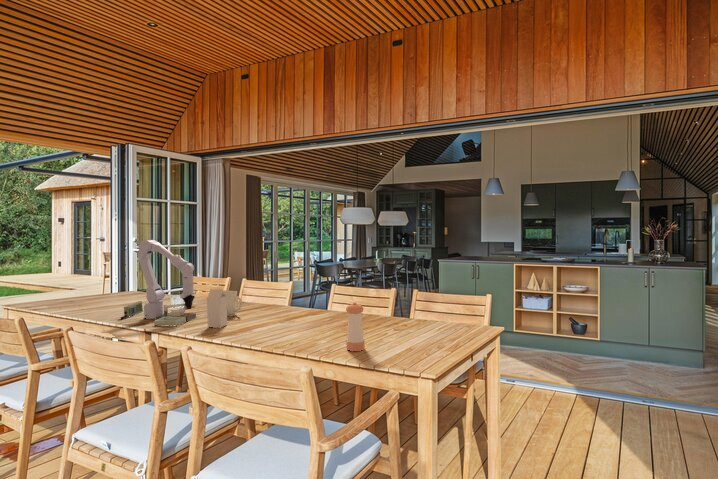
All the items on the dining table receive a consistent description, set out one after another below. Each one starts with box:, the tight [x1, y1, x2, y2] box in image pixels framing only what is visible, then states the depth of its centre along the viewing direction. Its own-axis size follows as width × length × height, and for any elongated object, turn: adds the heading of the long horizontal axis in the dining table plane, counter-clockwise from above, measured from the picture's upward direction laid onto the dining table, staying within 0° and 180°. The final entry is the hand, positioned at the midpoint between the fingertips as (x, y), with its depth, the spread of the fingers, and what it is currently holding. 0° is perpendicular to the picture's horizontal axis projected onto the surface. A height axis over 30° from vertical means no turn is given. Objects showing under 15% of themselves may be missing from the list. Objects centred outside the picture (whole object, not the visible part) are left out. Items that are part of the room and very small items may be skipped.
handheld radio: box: [120, 300, 144, 319], centre depth 269 cm, size 7×3×25 cm
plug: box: [169, 307, 186, 316], centre depth 255 cm, size 6×6×6 cm
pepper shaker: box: [345, 302, 366, 352], centre depth 187 cm, size 7×7×19 cm
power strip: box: [155, 311, 197, 322], centre depth 255 cm, size 18×10×3 cm, turn 83°
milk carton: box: [206, 288, 228, 329], centre depth 235 cm, size 7×7×19 cm
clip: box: [163, 302, 194, 315], centre depth 260 cm, size 16×2×5 cm, turn 124°
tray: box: [153, 317, 187, 326], centre depth 243 cm, size 12×10×3 cm
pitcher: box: [223, 289, 243, 317], centre depth 264 cm, size 11×18×14 cm, turn 62°
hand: (188, 308), depth 260 cm, fingers closed
